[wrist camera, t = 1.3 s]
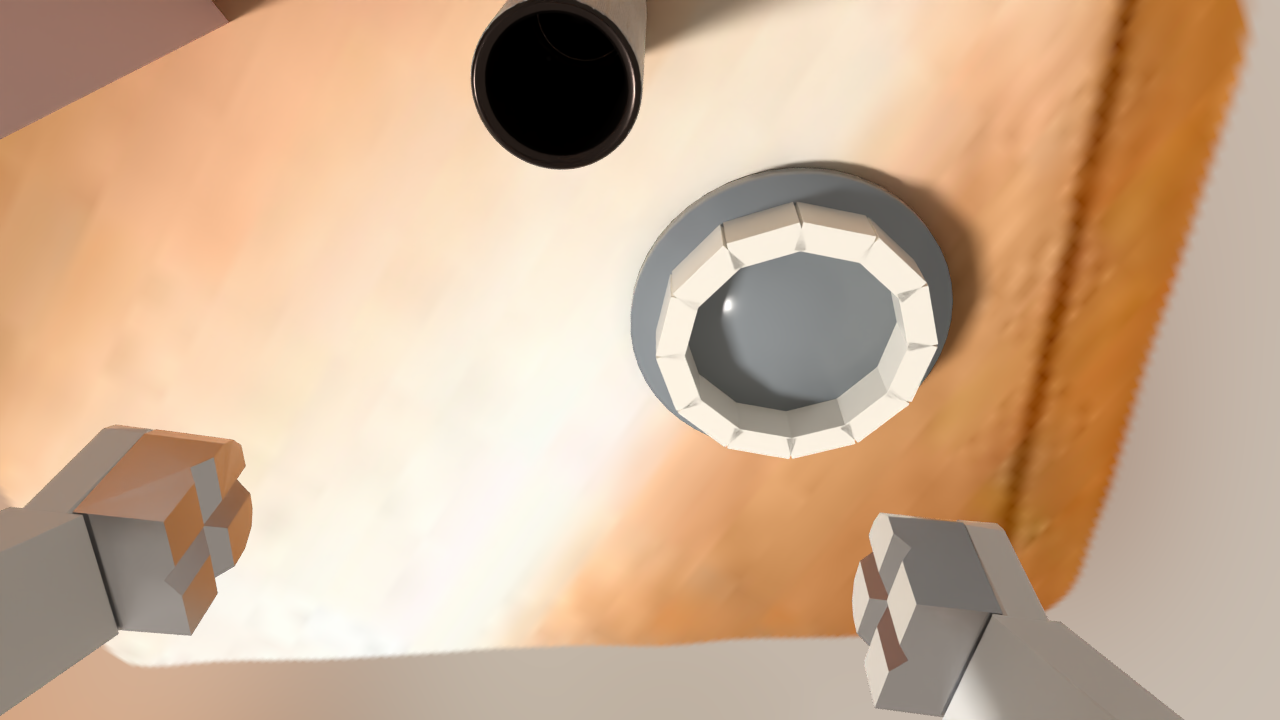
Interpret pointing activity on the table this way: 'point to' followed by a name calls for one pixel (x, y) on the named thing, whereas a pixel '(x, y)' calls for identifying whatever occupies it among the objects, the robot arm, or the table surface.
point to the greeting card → (85, 47)
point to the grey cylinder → (561, 78)
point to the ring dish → (791, 311)
